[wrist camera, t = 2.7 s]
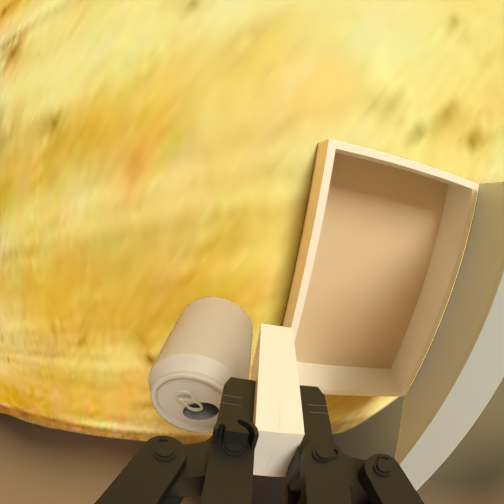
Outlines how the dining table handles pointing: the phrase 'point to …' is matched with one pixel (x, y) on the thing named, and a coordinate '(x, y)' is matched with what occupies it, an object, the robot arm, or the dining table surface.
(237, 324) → the can
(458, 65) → the dining table surface
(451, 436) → the lid
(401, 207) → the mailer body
